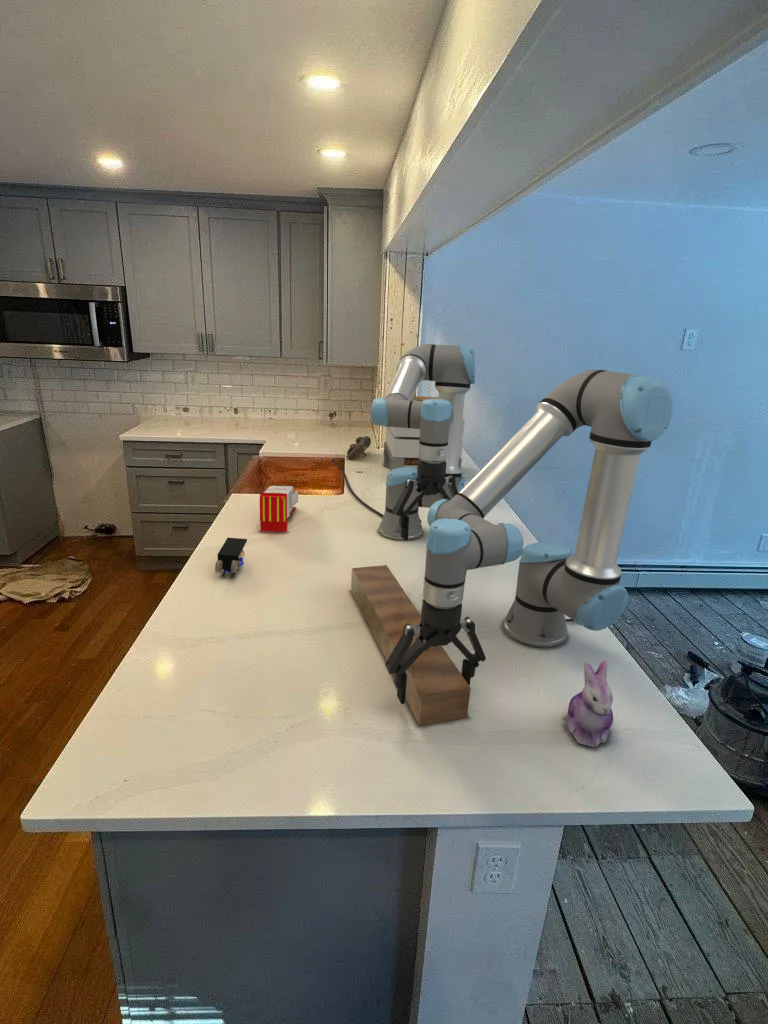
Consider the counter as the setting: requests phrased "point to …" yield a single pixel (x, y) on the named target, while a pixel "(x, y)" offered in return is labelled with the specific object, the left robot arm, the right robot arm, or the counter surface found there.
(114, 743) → the counter surface
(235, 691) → the counter surface
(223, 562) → the figurine character
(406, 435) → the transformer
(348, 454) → the fossil
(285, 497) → the toy
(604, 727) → the figurine
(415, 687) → the wide beam
